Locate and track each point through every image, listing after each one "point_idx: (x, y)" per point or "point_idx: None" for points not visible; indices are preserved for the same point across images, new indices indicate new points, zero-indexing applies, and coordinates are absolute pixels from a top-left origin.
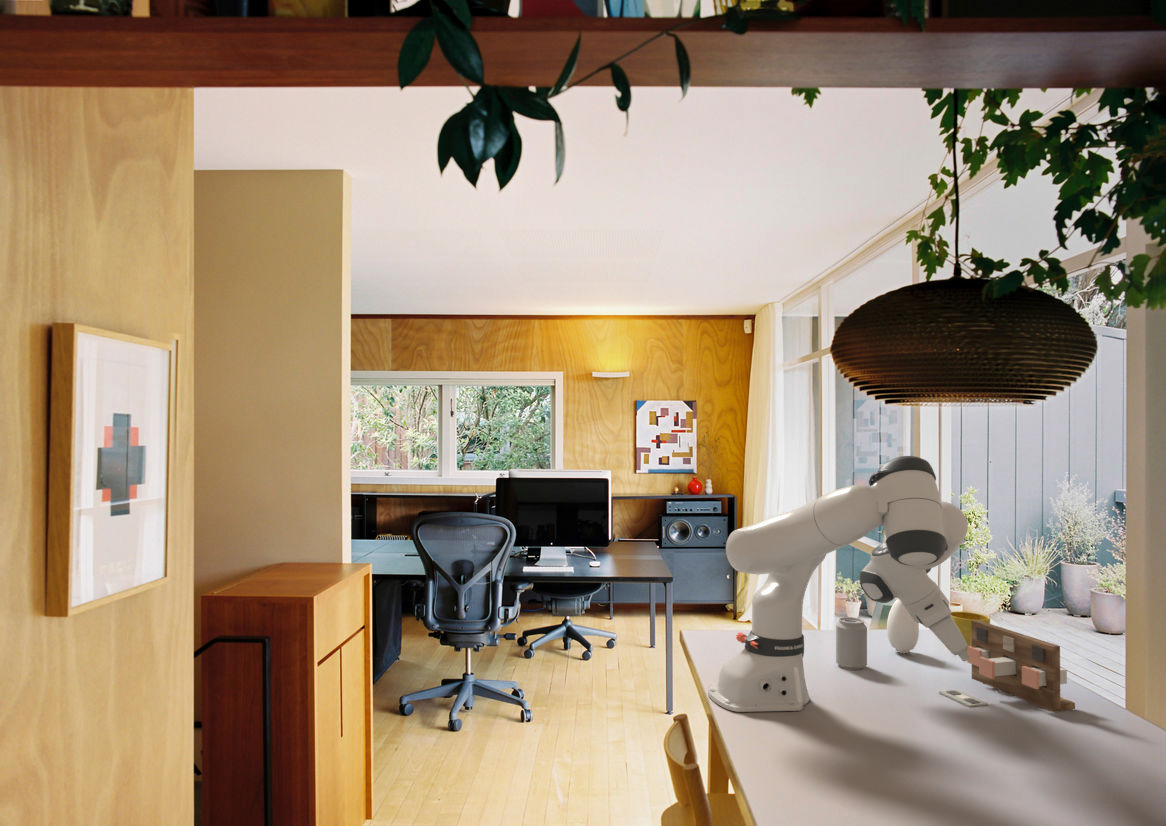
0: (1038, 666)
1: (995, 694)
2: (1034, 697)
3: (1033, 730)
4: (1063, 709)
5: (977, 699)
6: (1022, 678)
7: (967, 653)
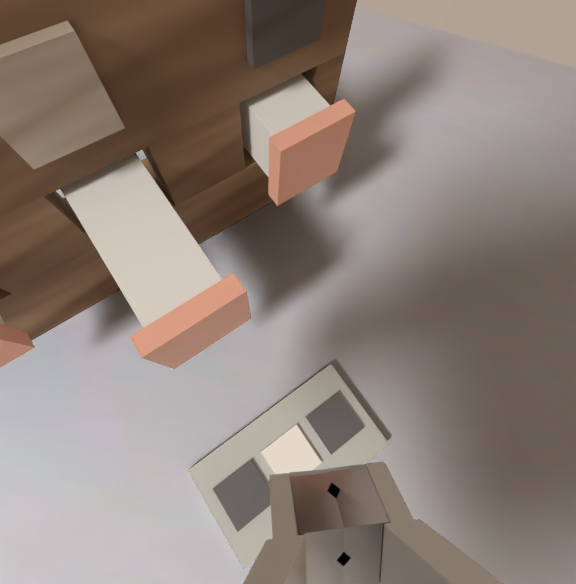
0: (277, 81)
1: None
2: (258, 195)
3: (516, 264)
4: None
5: (297, 396)
6: (282, 190)
7: (400, 493)
